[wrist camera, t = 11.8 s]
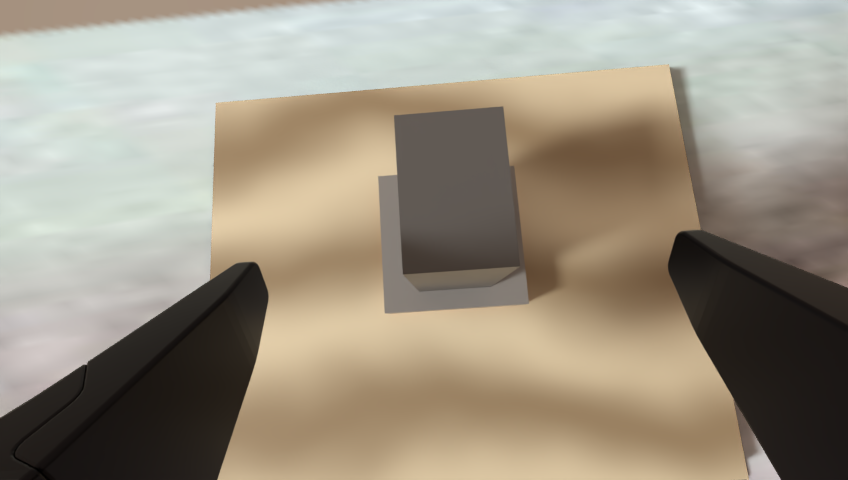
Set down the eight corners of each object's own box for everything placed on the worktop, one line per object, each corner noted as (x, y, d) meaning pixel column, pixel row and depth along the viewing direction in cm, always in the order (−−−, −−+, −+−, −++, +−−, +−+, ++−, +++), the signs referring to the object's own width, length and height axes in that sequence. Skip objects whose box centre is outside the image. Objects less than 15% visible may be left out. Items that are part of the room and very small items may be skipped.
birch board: (741, 480, 19) (764, 492, 18) (208, 507, 20) (190, 521, 19) (663, 70, 23) (677, 54, 22) (220, 108, 24) (206, 94, 22)
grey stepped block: (521, 305, 20) (583, 294, 11) (390, 313, 20) (345, 309, 11) (508, 178, 21) (555, 74, 12) (383, 188, 21) (339, 93, 12)
